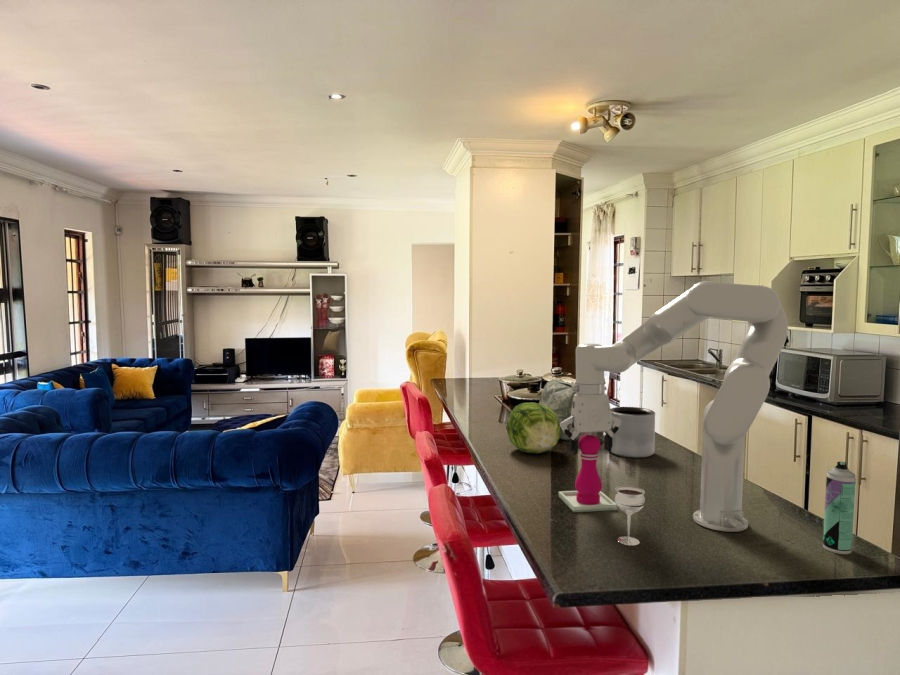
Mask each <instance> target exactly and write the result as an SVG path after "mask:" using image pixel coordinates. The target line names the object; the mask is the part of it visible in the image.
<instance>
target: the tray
mask: <svg viewBox="0 0 900 675" xmlns="http://www.w3.org/2000/svg"><path fill="white" fill-rule="evenodd" d="M577 493H578V491H577V490H565V491H558V498H559V499H560V500H561V501H562V502H563V503H564V504H565V505H566V506H567V507H568V508H569V509H570V510H571V511H572V512H573V513H583V512H585V513H586V512H588V513H589V512H603V511H617V510H618V506H617V505H616V503H615V501H613V500H612V499H611V498H610V497H608V496H607V495H606V494H605V493H604V492H602V490H601V491H600V492H599V493H598V494H599V495H600V502H599V503H598V504H595V505H586V504H581V503H579V502H578V501H577V500H576V495H577Z"/></svg>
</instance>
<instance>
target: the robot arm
mask: <svg viewBox="0 0 900 675" xmlns="http://www.w3.org/2000/svg"><path fill="white" fill-rule="evenodd" d="M710 318H712V319H721V320H730V321H737V322H738V321H740V322H747V331H746V334H745V336H744V337H743V340H742V341H741V345H740V347H739V348H738V350H737V353H736V354H735V356H734V358H733V360H732V361H731V363H730V365H729V366H728V367H727V369H726V371H725V372H724V376H723V377H724V378H723V381H722V383H721V385H720V388H719V390H718V391H717V392H716V396H714V398H713V400H712V399H711V401H710V402H709V403H708V404H707V405H706V406H705V408H704V410H703V413H702V414H703V415H702V427H703V428H702V449H701V450H702V452H701V473H700V474H701V475H700V497H699V498H700V503H699V505H700V506H699V509H698V510H696V511H694V512H693V513H692V514H693V515H692V519H693V521H694V522H695V523H697V524H698V525H700V526H701V527H704V528H707V529H711V530H713V531H719V532H720V531H721V532H727V533H729V532H731V533H733V532H734V533H738V532H742V531H745V530H747V529H748V527H749V521H748V520H747V518H746V517H744V511H743V492H744V491H743V485H744V466H745V439H746V438H745V436H746V435H747V433H748V432H749V430H750V428H751V427H752V424H753V423H754V421H755V419H756V417H757V416H758V414H759V412H760V410H761V408H762V407H763V404H764V403H765V401H766V399H767V397H768V394H769V392H770V387H771V380H770V375H771V372H772V371H773V368H774V367H775V364H776V362H777V361H778V359H779V357H780V355H781V352H782V350H783V348H784V346H785V343H786V340H787V336H788V332H789V327H788V324H789V323H788V318H787V315H786V311H785V309H784V307H783V305H782V304H781V299H780V296H779V294H778V293H777V292H776V290H774V289H772V288H771V287H769V286H764V285H755V284H742V283H741V284H740V283H730V282H719V281H710V280H702V281H699V282H697V283H695V284H693V286H691V288H689V289H688V290H686V291H685V292H683V293H682V294H681V295H678V297H676V298H675V299H673V300H672V301H670V302H669V303H668V304H666V305H664V306H663V307H662V308H660V309H659V310H657V311H656V312H654V313H653V314H651V315H650V316H649V318H647V320H646V321H645V322H644V323H642V324H641V325H640V326H639V327H637V328H636V329H634V330H633V331H631V332H630V333H628V334H627V335H625V336H624V337H623V338H621V339H620V340H618V341H617V342H615V343H613V344H609V345H602V344H599V343H582V344H581V343H580V344H578V345H577V346H576V347H575V383H574V384H575V386H572V387H571V390H572V391H575V392H576V394H574V397H573V403H572V411H571V416H570V417H569V418H567V419H565V420H564V421H562V422H560V427H561V428H562V430H563V432H564V433H565V434H566V435H567V436H568V437H569V441H568V442H569V446H568V447H569V450H570V452H571V453H572V454H574V455H578V440H576V437H577V435H578V434H579V433H592V432H597V433H605V434H604V436H603V444H604V445H603V449H604V450H605V451H606V452H609V453H612V452H611V448H612V446H613V445H612V437H614V434H615V433H616V432H617V431H618V429H619V426H620V424H621V422H622V421H621V420H620V419H618V418H616V417H614V416H612V415H611V410H610V409H611V405H610V399H609V395H608V394H607V393H605V387H606V386H605V383H606V382H605V372H609V373H615V374H620V373H624V372H626V371H627V370H629V369H630V368H631V367H632V366H633V365H634V364H636V363H638V362H639V361H641V360H642V359H643V358H645V357H647V356H648V355H650V354H651V353H653V352H655V351H656V350H657V349H659V348H660V347H661V348H662V347H663V346H666V345H668V344H671V343H672V342H674V341H676V340H677V339H679V338H680V337H682V336H683V335H685V334H687V332H689V331H691V330H692V329H694V328H695V327H697V326H698V325H700V324H701V323H702V322H705V321H706V320H708V319H710ZM611 420H612V421H614V425H613V426H612V421H611ZM570 423H571V427H572V429H571V431H569V430H568V429H567V425H568V424H570Z"/></svg>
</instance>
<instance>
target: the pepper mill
mask: <svg viewBox="0 0 900 675" xmlns="http://www.w3.org/2000/svg"><path fill="white" fill-rule="evenodd" d="M586 434H587V435H583V436H581V437H580V439H579V440H577V448H578V449H579V450H580V452H579V458H580V459H581V460H580V461H581V463H580V464H581V465H580V469H579V472H578V474H577V475H576V478H575V481H574V487H575V490H576V491H578V493H577V495H576V500H577V501H578V502H579V503H581V504H586V505H595V504H598V503H599V502H600V495H599V494H598V493H599V492H600V491H601V492H602V489H603V484H602V479H601V478H600V474H599V473H598V468H597V461H598V460H599V451H600V449H601V446H602V445H601V441H600V439H599V437H596V436H594V435H592V434H593V432H592V433H586Z"/></svg>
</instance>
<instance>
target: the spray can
mask: <svg viewBox="0 0 900 675" xmlns="http://www.w3.org/2000/svg"><path fill="white" fill-rule="evenodd" d="M826 472H827V473H826V479H825V498H824V500H825V501H824V513H823V514H824V516H823V518H824V519H823V535H822V536H823V537H822V548H824V549H825V550H827V551H828V552H831V553H833V554H834V553H835V554H840V555H849V554H852V551H853V536H854V533H853V532H854V518H855V515H854V514H855V501H856V497H855V496H856V481H857V478H856V473H854V472H852V471H850V469H849V468H848V466H847V462H846V461H841V460H840V461H837V463H836V465H835V466H833V468H832V469H827V471H826Z"/></svg>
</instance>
